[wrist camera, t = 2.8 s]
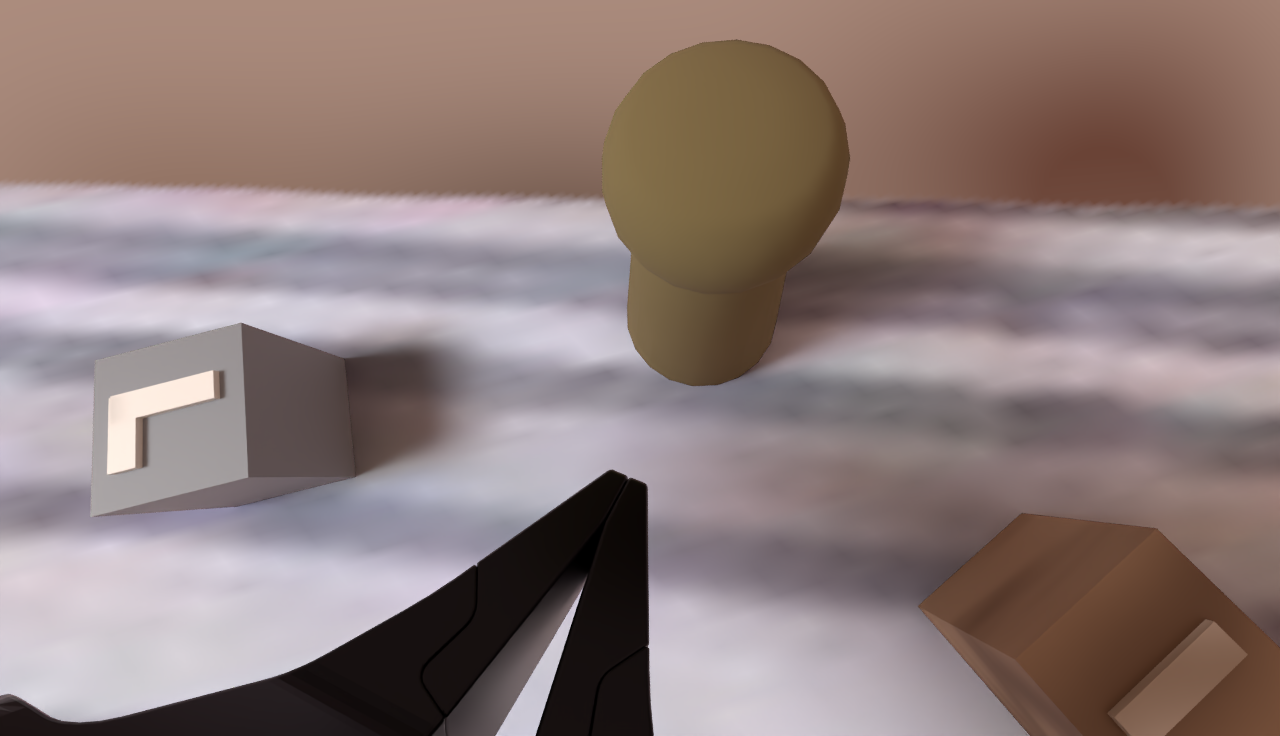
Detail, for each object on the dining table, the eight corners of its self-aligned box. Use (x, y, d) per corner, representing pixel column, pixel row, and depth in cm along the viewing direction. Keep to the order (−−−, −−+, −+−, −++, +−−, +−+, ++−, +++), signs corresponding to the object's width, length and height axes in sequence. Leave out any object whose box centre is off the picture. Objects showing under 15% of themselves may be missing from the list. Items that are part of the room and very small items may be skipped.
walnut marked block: (1139, 636, 16) (1352, 710, 11) (1030, 737, 16) (1200, 864, 11) (1020, 512, 17) (1164, 529, 12) (916, 605, 17) (1020, 662, 12)
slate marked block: (357, 476, 19) (242, 477, 14) (238, 506, 19) (82, 517, 14) (345, 359, 20) (235, 320, 15) (233, 387, 20) (87, 359, 15)
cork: (726, 220, 20) (781, -64, 10) (805, 339, 19) (972, 163, 8) (601, 288, 20) (514, 74, 9) (672, 413, 19) (665, 331, 8)
